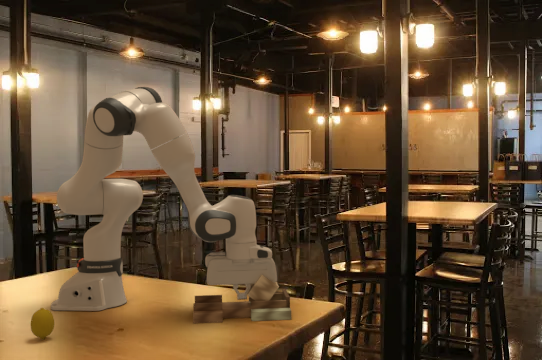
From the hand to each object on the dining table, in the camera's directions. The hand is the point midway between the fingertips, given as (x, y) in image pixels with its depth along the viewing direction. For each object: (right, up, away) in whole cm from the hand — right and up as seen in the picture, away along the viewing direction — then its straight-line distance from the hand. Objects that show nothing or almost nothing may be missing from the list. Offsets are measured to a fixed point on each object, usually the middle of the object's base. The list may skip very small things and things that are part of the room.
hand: (242, 299), depth 164 cm
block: (+4, 0, 0) cm, 4 cm away
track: (0, -4, +1) cm, 4 cm away
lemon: (-49, -6, -21) cm, 54 cm away
